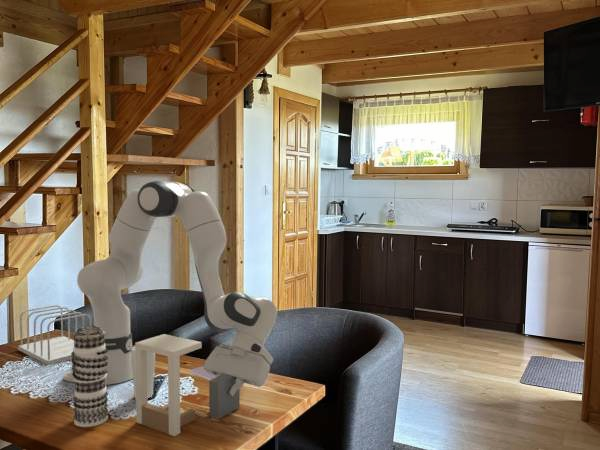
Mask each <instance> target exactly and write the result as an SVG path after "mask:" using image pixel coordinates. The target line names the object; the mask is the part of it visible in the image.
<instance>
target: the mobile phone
mask: <svg viewBox="0 0 600 450" xmlns="http://www.w3.org/2000/svg"><path fill="white" fill-rule="evenodd" d="M189 372H190V373H191V374H193V375H195V376H199V377H201V378H203V379H206V380H208V381H209V380H211V379H214V378H216V375H212V374H209V373H208V372H206V371H205V369H204V365H201V366H198V367H195V368H192V369H189Z"/></svg>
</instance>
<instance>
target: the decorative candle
mask: <svg viewBox="0 0 600 450" xmlns="http://www.w3.org/2000/svg"><path fill="white" fill-rule="evenodd" d="M105 333H106V332H105V331H103V330H102V329H101V327H99V326H94V325H92V326H90V325H84V327H83V326H81V327H79V328H77V331H76V333H73V334H72V337H73V340H74V351H73V352H72V353H71V354H72V355H71V357H73V358H72V359H70V360H71V361H70V362H71V369H72V370H73V373H72V375H73V380H74V381H75V382H74V387H75V388H74V396H73V397H72V399H73V401H74V402H73V406H74V408H73V409H72V410H73V419H74V420H73V423H74V425H75V426H77V427H81V428H90V427H95V426H99V425H102V424H104V423H105V422H107V420H108V419H109V416H108V413H109V410H108V407H109V405H108V399H109V398H108V395H109V393H108V392H107V385H105V383H106V382H105V378H106V377H107V369H105V366H107V364H108V362H106V360H107V359H108V357H107V356H105V355H104V354H106V353H107V352H108V349H106V346H105V342H104V341H105V337H104V335H105ZM74 354H75V356H74ZM72 364H73V366H72ZM72 367H73V368H72Z"/></svg>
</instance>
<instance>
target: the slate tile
mask: <svg viewBox="0 0 600 450" xmlns="http://www.w3.org/2000/svg"><path fill="white" fill-rule="evenodd" d="M236 379H237V378H236V377H233V376H231V375H227V374H223V375H220V376H218V377H216V378H214V379H211V380H208V382H209V385H208V386H209V387H208V389H209V390H208V391H209V392H208V393H209V394H208V395H209V396H208V399H209V403H208V404H209V405H208V406H209V409H208V410H209V411H208V413H209V414H208V415H209V417H211V418H214V419H217V420H220V419H221V418H223V417H225V416H227V415H228V414H231V413H233V412H234V411H237V410H238V409H239V408H241V407H240V394H241V393H240V391H241V390H240V389H241V388H239V389H238V390H237V391H236V392H235V394H234V396H231V395H228V394H227V390H228V388H229V387H232V386H233V385H234V384H235V383H236V382H235V381H236Z"/></svg>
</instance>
